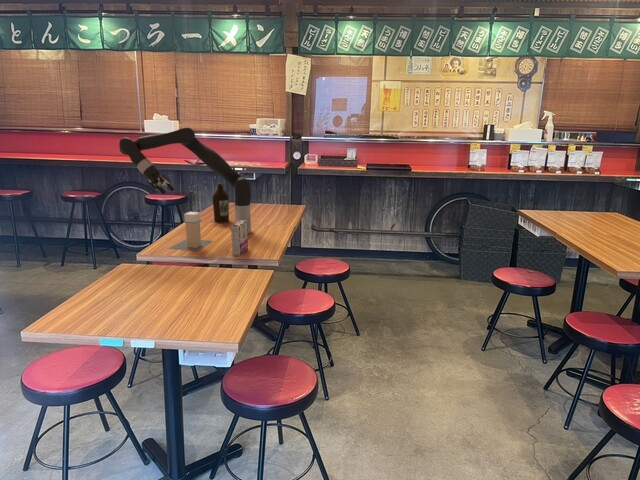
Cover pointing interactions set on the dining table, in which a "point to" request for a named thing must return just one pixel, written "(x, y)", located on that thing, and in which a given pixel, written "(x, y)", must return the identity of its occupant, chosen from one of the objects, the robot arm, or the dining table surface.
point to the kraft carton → (193, 235)
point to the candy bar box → (239, 237)
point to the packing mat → (183, 246)
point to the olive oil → (221, 204)
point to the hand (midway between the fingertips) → (169, 191)
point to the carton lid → (192, 217)
